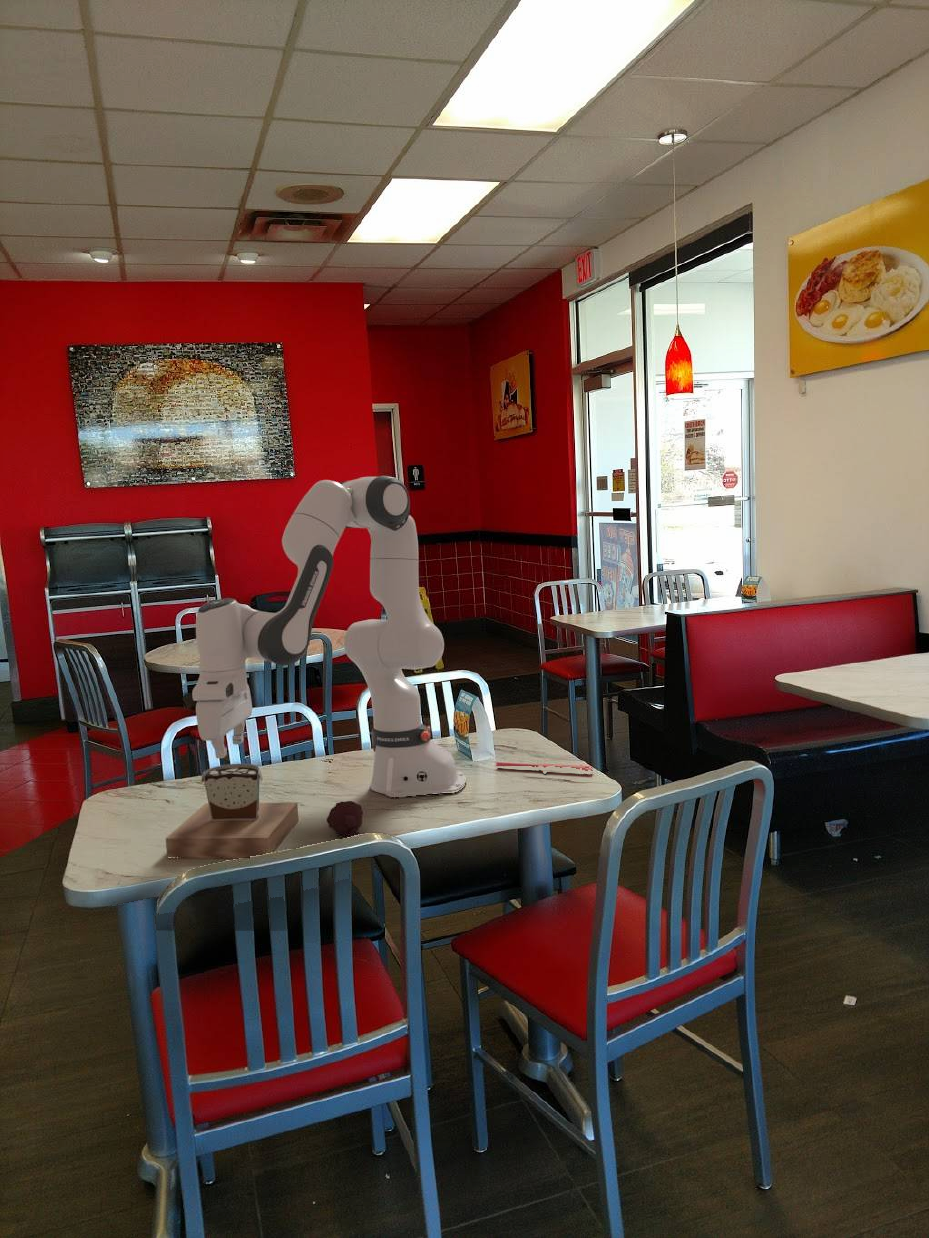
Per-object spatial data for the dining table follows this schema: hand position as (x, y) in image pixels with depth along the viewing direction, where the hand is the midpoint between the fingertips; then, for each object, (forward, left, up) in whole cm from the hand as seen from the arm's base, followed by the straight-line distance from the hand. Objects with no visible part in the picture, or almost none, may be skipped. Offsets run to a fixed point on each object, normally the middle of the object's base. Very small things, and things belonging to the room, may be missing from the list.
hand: (230, 750), depth 179 cm
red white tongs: (-61, -42, -19) cm, 76 cm away
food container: (0, -3, -14) cm, 15 cm away
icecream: (-22, -2, -19) cm, 29 cm away
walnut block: (0, 0, -18) cm, 18 cm away
